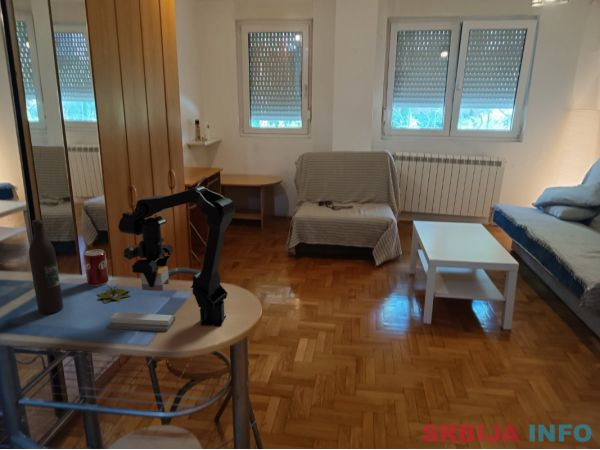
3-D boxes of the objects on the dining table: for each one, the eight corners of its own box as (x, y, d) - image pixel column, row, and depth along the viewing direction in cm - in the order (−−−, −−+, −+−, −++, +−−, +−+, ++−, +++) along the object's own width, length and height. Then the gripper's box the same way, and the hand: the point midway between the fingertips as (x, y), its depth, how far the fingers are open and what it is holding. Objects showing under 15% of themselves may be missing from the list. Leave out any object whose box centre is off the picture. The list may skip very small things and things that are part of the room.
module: (169, 283, 143) (167, 266, 141) (162, 291, 137) (160, 273, 135) (149, 282, 143) (148, 265, 141) (142, 290, 137) (140, 272, 136)
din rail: (175, 319, 135) (174, 312, 135) (167, 331, 129) (166, 323, 128) (119, 317, 137) (118, 309, 136) (108, 328, 130) (107, 320, 129)
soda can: (85, 287, 157) (81, 256, 154) (89, 279, 164) (85, 249, 160) (107, 285, 159) (103, 254, 156) (110, 278, 166) (106, 248, 162)
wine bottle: (52, 316, 137) (37, 224, 128) (33, 313, 138) (17, 222, 130) (68, 306, 143) (55, 218, 135) (49, 303, 145) (35, 216, 136)
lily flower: (100, 308, 143) (99, 295, 142) (90, 295, 152) (89, 283, 151) (137, 298, 151) (136, 286, 149) (125, 287, 159) (124, 275, 158)
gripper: (139, 227, 145) (143, 271, 149) (112, 245, 127) (117, 294, 131) (172, 228, 144) (175, 272, 148) (149, 247, 126) (153, 296, 131)
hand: (155, 283), depth 140 cm, fingers closed on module, 6 cm apart
